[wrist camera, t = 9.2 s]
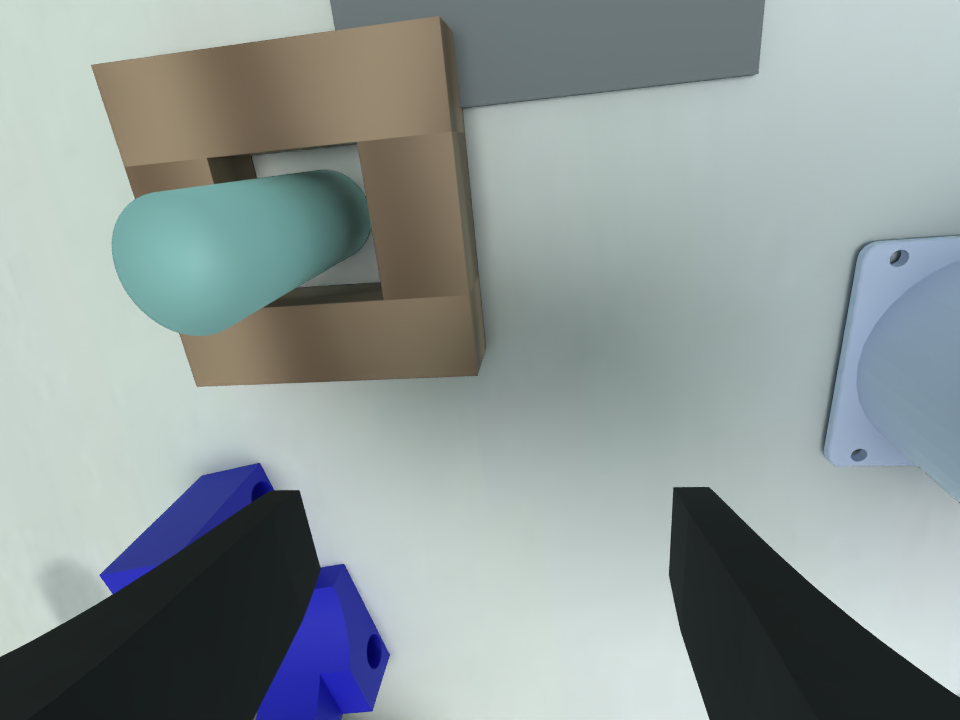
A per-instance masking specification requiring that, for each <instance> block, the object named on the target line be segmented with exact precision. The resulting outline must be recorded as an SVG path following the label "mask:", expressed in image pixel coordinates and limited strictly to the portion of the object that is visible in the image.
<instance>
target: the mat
mask: <svg viewBox="0 0 960 720" xmlns="http://www.w3.org/2000/svg"><path fill="white" fill-rule="evenodd" d="M330 2H331V8H332V14H333V20H334V26H335V31H336V30H343V29H350V28H357V27H364V26H371V25H378V24H385V23H392V22H399V21H407V20H414V19H421V18H428V17H435V16H440V17H441V18H442V20H443V21H444V22H445V23H446V24H447V25H448V27H449V28H450V29H451V30H452V31H453V38H454V48H455V58H456V68H457V78H458V89H459V99H460V108H469V107H478V106H487V105H495V104H504V103H513V102H522V101H530V100H539V99H548V98H557V97H566V96H574V95H583V94H592V93H601V92H609V91H618V90H627V89H636V88H644V87H653V86H662V85H671V84H679V83H688V82H697V81H706V80H715V79H723V78H732V77H741V76H750V75H755V74H758V69H759V59H760V48H761V37H762V26H763V15H764V4H765V0H330Z"/></svg>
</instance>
